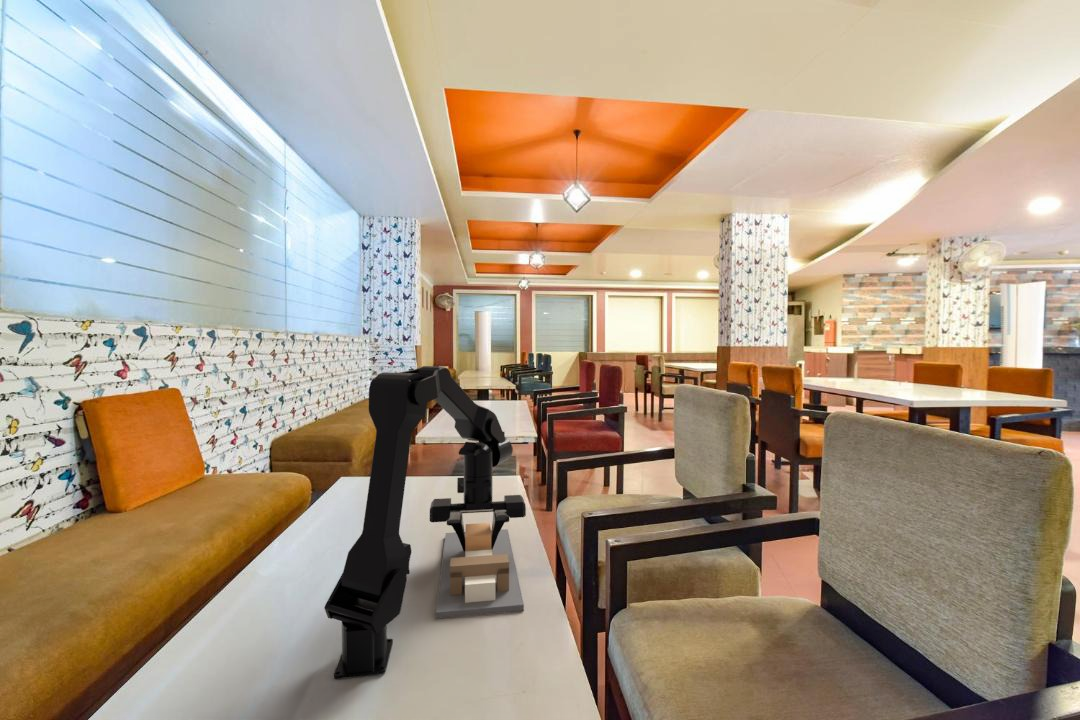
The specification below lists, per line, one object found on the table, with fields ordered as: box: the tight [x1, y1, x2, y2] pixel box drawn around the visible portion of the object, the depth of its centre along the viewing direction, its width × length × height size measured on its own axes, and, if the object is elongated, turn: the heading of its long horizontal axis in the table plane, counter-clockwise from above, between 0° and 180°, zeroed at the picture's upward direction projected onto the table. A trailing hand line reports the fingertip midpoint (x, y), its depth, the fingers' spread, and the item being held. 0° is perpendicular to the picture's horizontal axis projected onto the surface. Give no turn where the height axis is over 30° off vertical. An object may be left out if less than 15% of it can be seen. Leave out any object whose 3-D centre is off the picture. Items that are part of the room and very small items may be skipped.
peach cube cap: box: [465, 522, 492, 551], centre depth 89 cm, size 6×5×5 cm
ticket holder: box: [435, 528, 525, 620], centre depth 86 cm, size 30×14×6 cm, turn 9°
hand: (478, 549), depth 89 cm, fingers closed on peach cube cap, 5 cm apart
